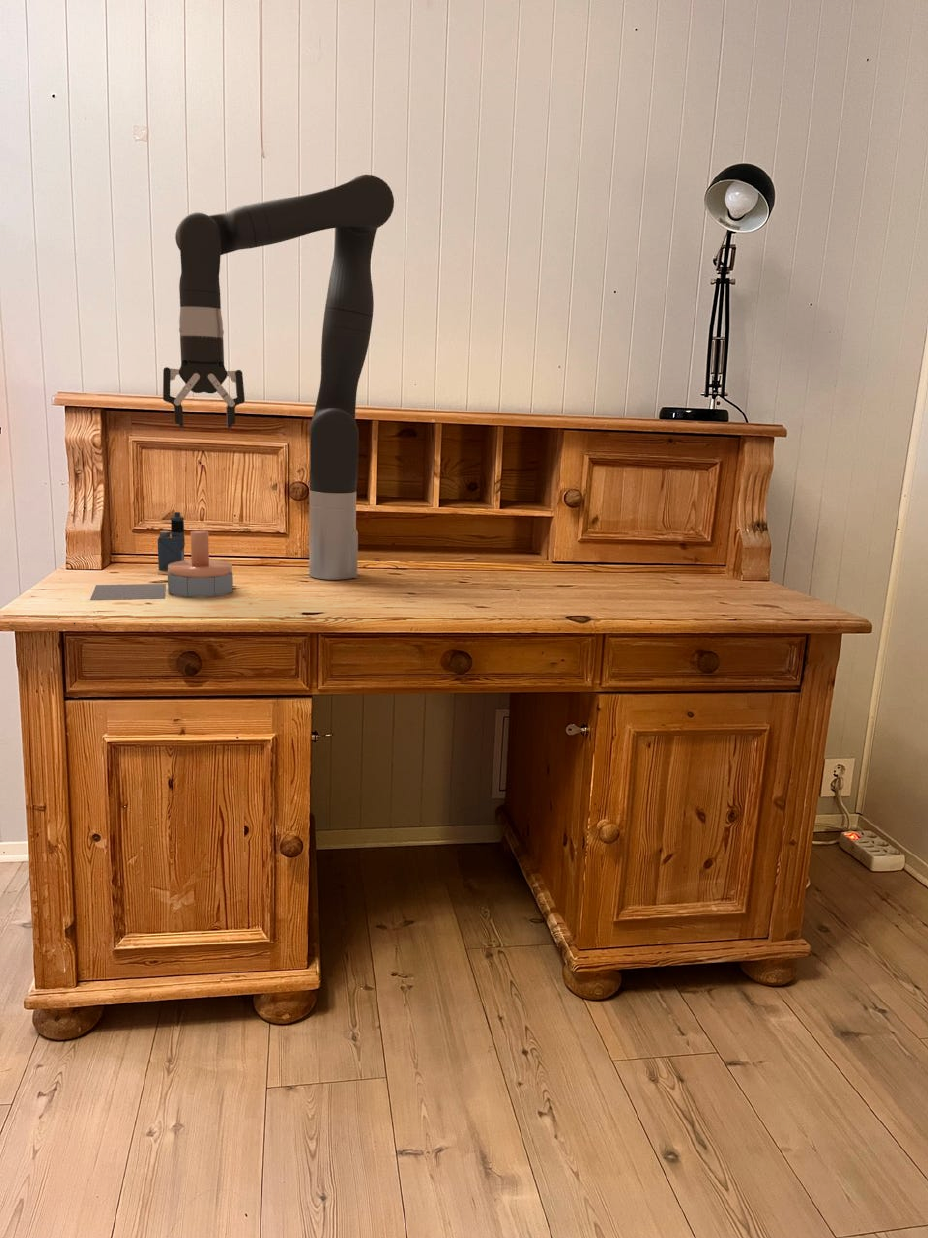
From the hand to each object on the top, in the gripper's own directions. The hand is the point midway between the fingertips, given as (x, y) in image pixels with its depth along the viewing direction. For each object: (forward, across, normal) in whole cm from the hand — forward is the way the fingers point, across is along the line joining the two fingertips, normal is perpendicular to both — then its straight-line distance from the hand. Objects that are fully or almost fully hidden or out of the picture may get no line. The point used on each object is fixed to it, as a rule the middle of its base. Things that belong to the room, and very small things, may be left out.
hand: (205, 427), depth 164 cm
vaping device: (+29, +7, -10) cm, 31 cm away
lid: (+25, +2, +10) cm, 27 cm away
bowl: (+29, +2, +10) cm, 31 cm away
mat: (+29, +14, +10) cm, 34 cm away
